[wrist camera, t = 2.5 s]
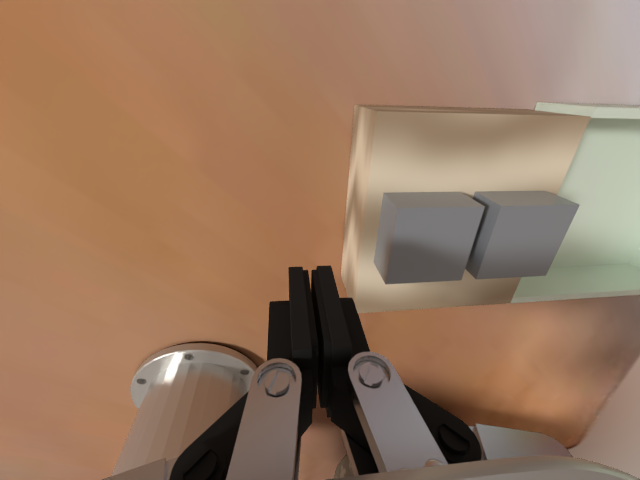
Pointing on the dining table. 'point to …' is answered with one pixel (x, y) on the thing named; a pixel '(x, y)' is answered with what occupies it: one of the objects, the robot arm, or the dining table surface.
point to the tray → (597, 210)
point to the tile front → (425, 236)
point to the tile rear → (518, 233)
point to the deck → (444, 184)
